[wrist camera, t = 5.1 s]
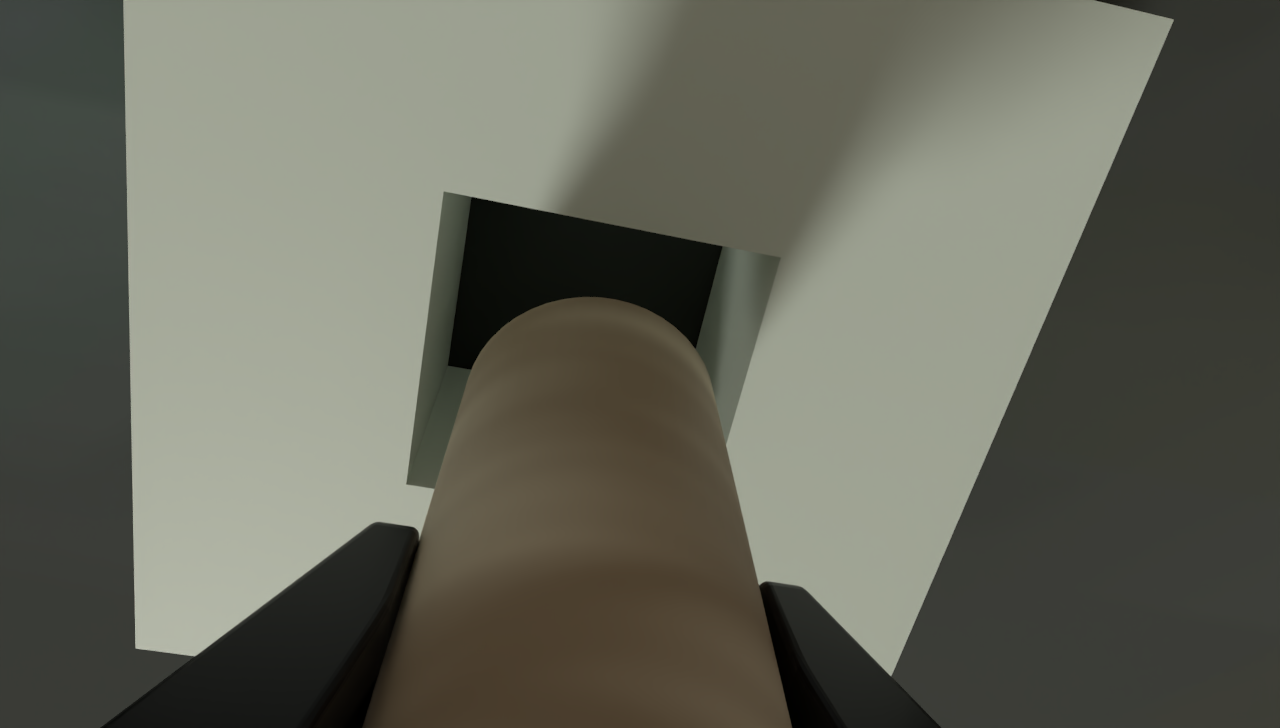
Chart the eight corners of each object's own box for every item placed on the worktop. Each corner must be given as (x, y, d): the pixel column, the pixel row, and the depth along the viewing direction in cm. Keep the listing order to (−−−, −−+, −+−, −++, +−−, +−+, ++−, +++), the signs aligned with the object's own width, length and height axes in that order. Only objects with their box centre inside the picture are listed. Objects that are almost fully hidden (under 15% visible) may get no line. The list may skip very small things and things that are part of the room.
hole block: (1032, -5, 15) (1173, 19, 11) (813, 592, 20) (862, 743, 16) (252, -193, 13) (119, -237, 10) (228, 504, 18) (135, 648, 14)
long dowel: (742, 323, 11) (1279, 1860, 2) (682, 534, 13) (876, 2043, 4) (482, 273, 11) (-85, 1890, 2) (448, 497, 12) (16, 2083, 3)
